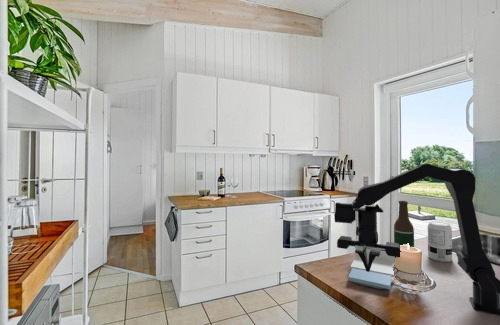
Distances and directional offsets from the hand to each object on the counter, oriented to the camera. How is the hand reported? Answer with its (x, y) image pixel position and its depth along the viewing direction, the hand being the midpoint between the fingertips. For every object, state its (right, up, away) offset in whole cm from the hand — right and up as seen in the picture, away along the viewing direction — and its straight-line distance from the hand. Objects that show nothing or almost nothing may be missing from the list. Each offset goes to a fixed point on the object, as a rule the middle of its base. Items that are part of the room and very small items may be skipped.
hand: (368, 271), depth 83 cm
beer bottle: (+29, -5, +28) cm, 41 cm away
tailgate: (+4, -4, +6) cm, 8 cm away
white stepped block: (+8, -5, +12) cm, 16 cm away
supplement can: (+42, -5, +23) cm, 48 cm away
